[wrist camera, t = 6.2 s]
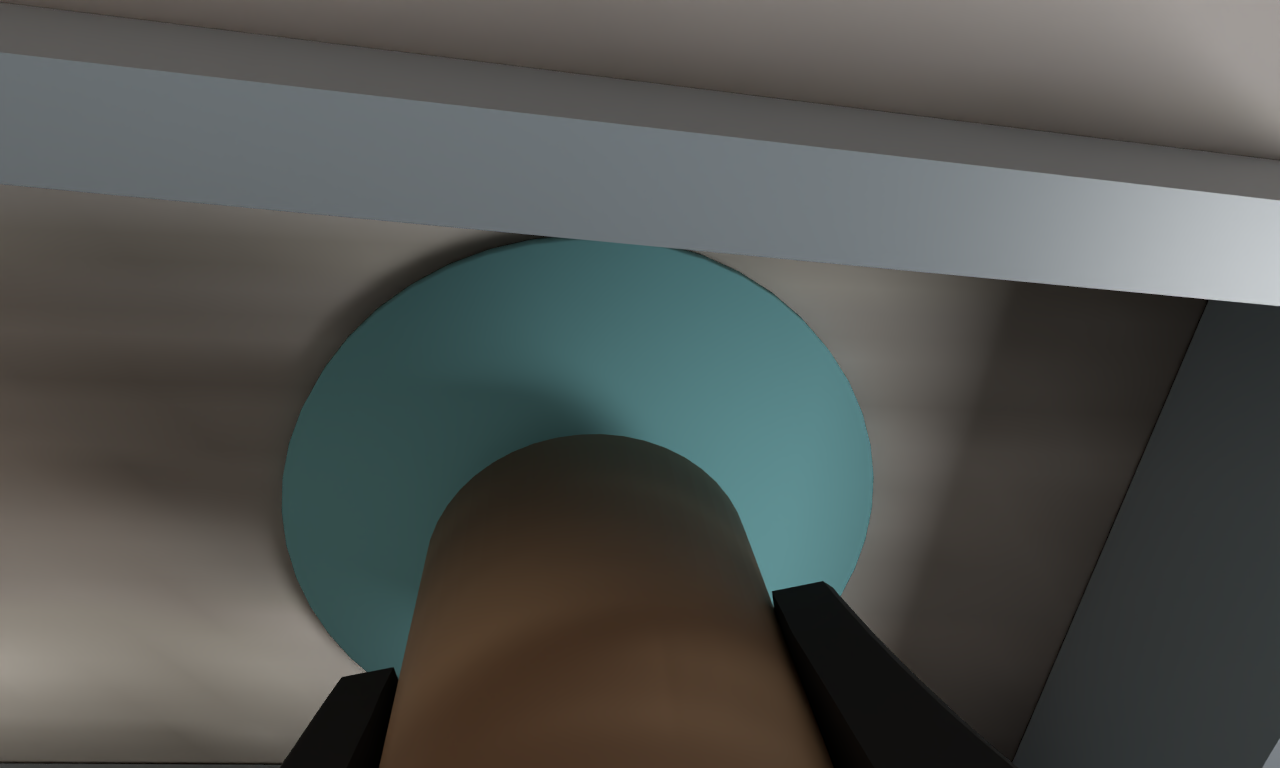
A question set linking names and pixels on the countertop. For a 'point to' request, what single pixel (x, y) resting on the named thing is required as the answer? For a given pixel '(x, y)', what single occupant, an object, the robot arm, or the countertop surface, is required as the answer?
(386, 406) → the pad
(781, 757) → the walnut cylinder
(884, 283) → the countertop surface
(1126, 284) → the grey angular frame piece
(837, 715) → the robot arm
